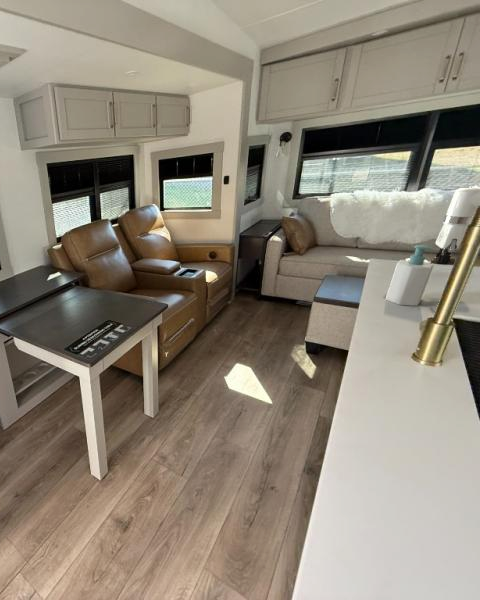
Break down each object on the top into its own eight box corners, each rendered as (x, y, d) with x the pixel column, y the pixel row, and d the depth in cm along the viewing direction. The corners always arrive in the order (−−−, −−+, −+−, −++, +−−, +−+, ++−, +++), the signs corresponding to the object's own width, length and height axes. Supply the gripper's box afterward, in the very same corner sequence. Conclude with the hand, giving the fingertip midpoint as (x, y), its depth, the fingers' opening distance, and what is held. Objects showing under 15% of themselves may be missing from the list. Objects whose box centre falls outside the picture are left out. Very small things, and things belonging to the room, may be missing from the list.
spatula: (407, 263, 140) (409, 257, 138) (404, 259, 144) (406, 253, 143) (466, 268, 130) (469, 261, 129) (461, 263, 135) (463, 257, 134)
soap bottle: (415, 308, 118) (437, 251, 109) (383, 301, 125) (401, 247, 116) (421, 300, 123) (442, 245, 115) (389, 294, 130) (407, 241, 122)
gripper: (438, 216, 137) (423, 257, 144) (450, 223, 125) (433, 267, 132) (464, 217, 133) (447, 259, 140) (479, 224, 121) (459, 269, 128)
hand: (440, 262), depth 136 cm, fingers closed on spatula, 3 cm apart
